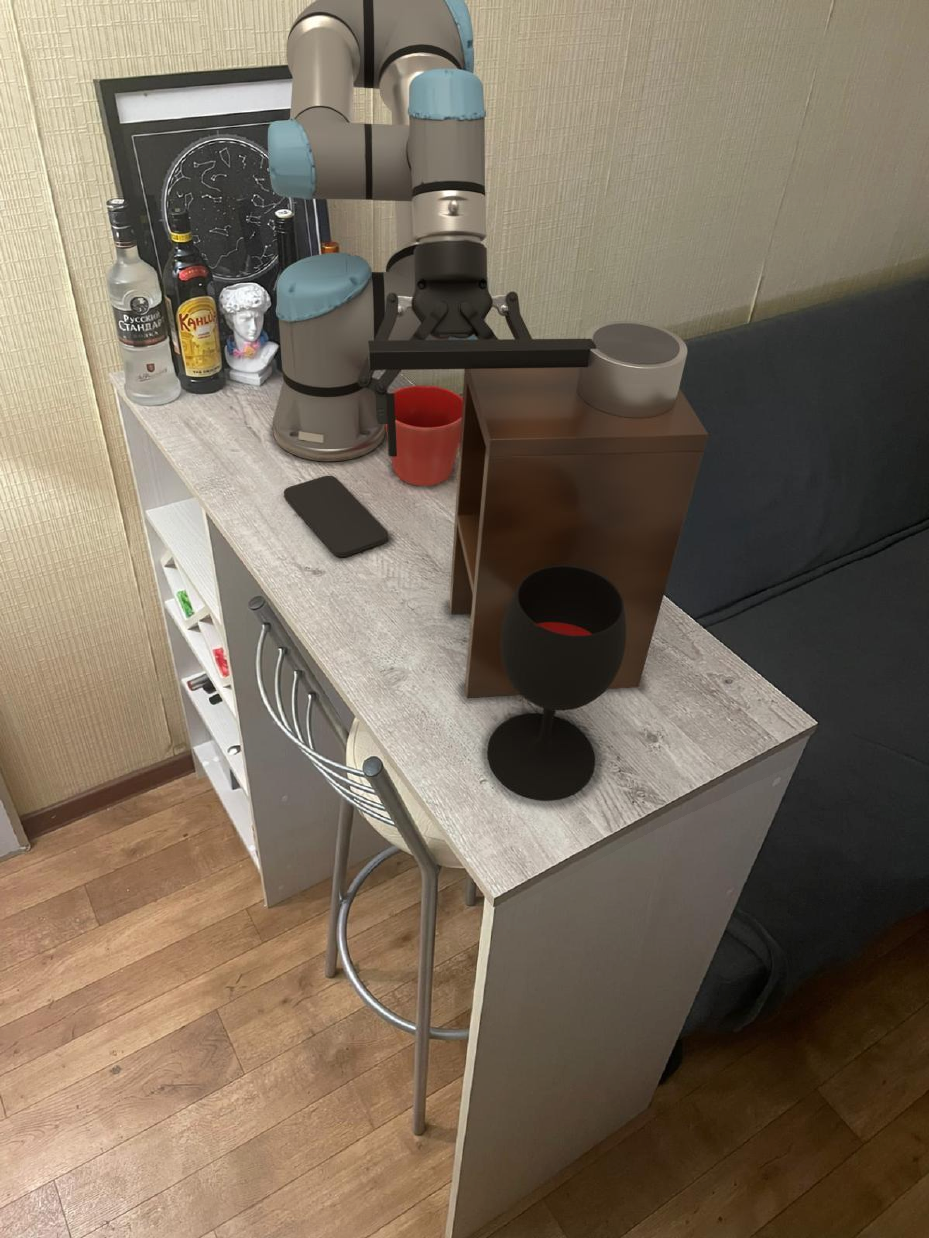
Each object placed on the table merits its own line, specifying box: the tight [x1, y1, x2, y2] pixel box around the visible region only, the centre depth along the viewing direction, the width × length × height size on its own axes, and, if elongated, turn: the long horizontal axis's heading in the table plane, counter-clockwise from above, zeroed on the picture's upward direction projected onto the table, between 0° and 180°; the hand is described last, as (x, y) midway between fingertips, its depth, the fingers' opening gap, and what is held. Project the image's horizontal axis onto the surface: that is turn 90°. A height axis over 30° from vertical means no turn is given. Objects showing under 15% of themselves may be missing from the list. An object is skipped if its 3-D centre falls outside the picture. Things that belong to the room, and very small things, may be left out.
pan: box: [368, 320, 688, 418], centre depth 75 cm, size 26×8×5 cm, turn 98°
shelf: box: [448, 367, 709, 699], centre depth 88 cm, size 18×14×30 cm
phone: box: [283, 475, 389, 558], centre depth 112 cm, size 7×1×15 cm
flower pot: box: [385, 384, 463, 487], centre depth 118 cm, size 11×11×10 cm
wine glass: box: [486, 565, 626, 801], centre depth 80 cm, size 10×10×20 cm
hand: (455, 454), depth 98 cm, fingers open, 13 cm apart
